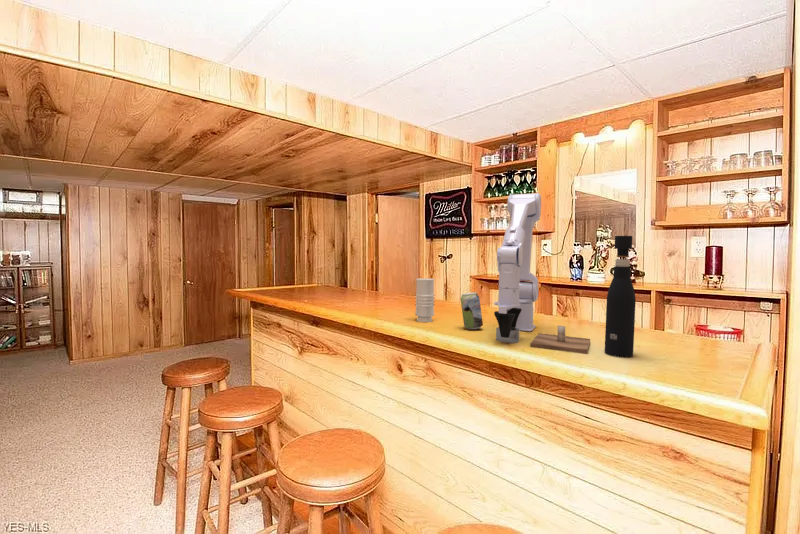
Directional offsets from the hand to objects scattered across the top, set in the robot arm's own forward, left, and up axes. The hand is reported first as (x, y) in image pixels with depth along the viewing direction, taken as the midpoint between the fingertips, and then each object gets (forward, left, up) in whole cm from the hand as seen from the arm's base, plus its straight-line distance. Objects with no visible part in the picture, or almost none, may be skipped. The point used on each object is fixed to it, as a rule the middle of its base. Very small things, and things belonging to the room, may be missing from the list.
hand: (507, 334), depth 114 cm
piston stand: (-3, +14, -2) cm, 14 cm away
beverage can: (-10, -14, -2) cm, 17 cm away
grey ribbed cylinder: (-15, -33, -2) cm, 36 cm away
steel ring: (0, 0, -2) cm, 2 cm away
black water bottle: (0, +28, -2) cm, 28 cm away
